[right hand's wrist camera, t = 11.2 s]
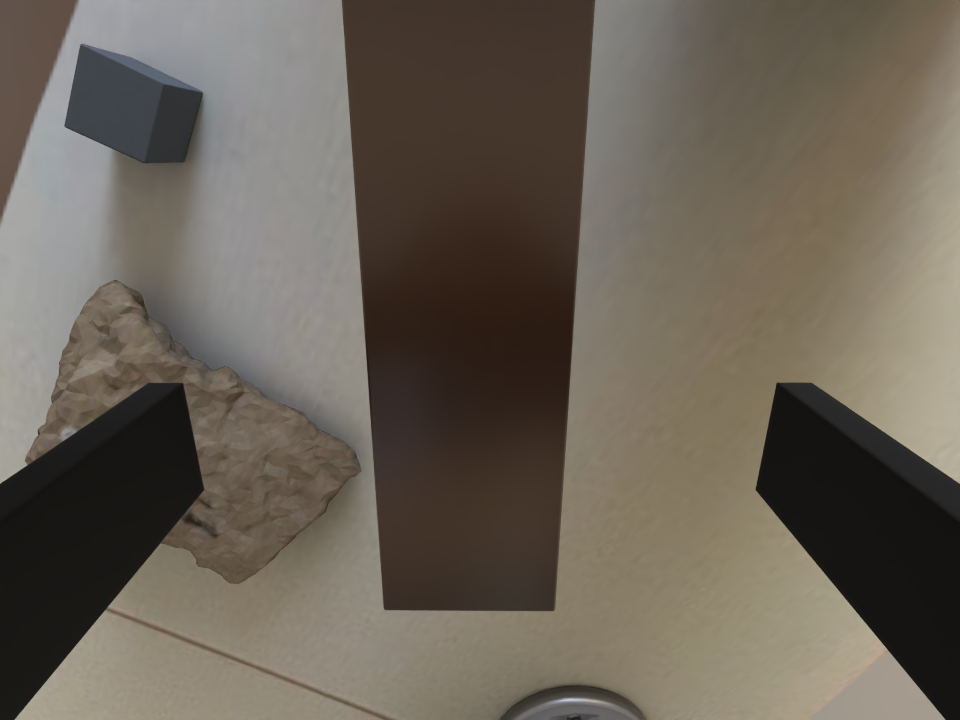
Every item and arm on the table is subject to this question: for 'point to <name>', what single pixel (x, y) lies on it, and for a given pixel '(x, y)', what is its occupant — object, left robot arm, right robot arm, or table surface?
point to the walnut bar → (468, 285)
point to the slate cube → (131, 107)
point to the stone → (202, 435)
